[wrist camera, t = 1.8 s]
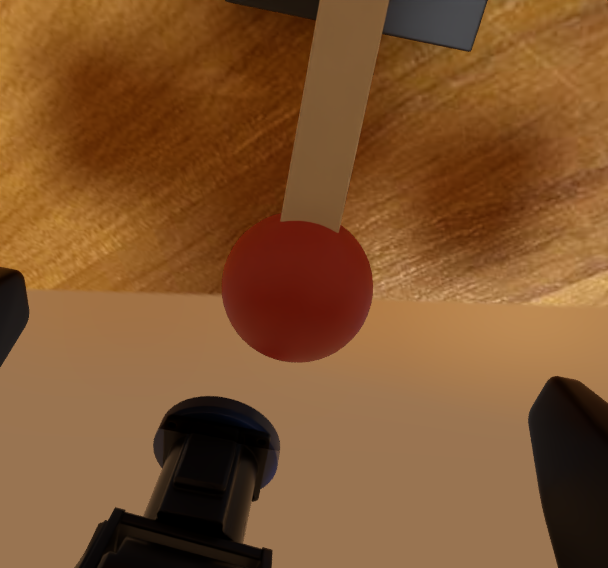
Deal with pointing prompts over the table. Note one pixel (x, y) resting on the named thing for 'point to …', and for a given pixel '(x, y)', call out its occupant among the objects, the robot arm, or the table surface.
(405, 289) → the table surface
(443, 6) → the switch base
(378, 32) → the switch lever
